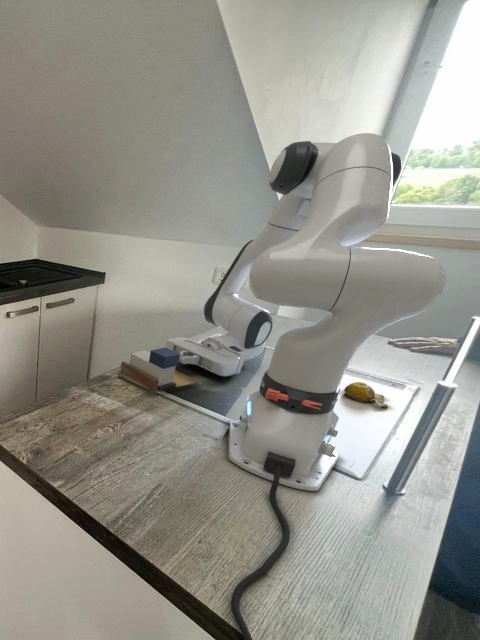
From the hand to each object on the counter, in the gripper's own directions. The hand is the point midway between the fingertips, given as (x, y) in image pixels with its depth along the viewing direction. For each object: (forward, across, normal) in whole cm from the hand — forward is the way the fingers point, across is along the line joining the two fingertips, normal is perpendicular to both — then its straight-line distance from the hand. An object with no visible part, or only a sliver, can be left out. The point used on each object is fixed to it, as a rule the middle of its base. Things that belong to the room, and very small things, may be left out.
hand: (178, 359), depth 106 cm
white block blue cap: (+10, +1, +4) cm, 11 cm away
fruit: (-34, +28, +5) cm, 45 cm away
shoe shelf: (+6, 0, +5) cm, 8 cm away
